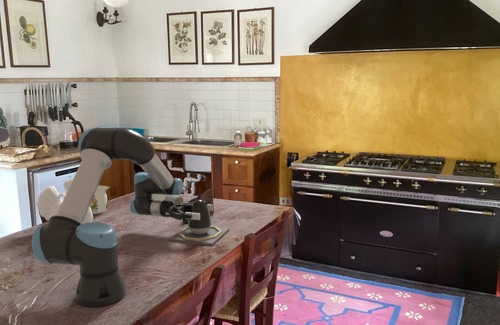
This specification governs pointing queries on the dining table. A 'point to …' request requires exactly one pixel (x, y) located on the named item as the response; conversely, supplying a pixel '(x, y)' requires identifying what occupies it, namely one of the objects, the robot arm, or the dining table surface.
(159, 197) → the toilet tissue
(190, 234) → the dock plate
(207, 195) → the letter holder
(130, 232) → the dining table surface
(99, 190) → the pitcher
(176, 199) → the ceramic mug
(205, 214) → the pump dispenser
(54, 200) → the decorative rooster
